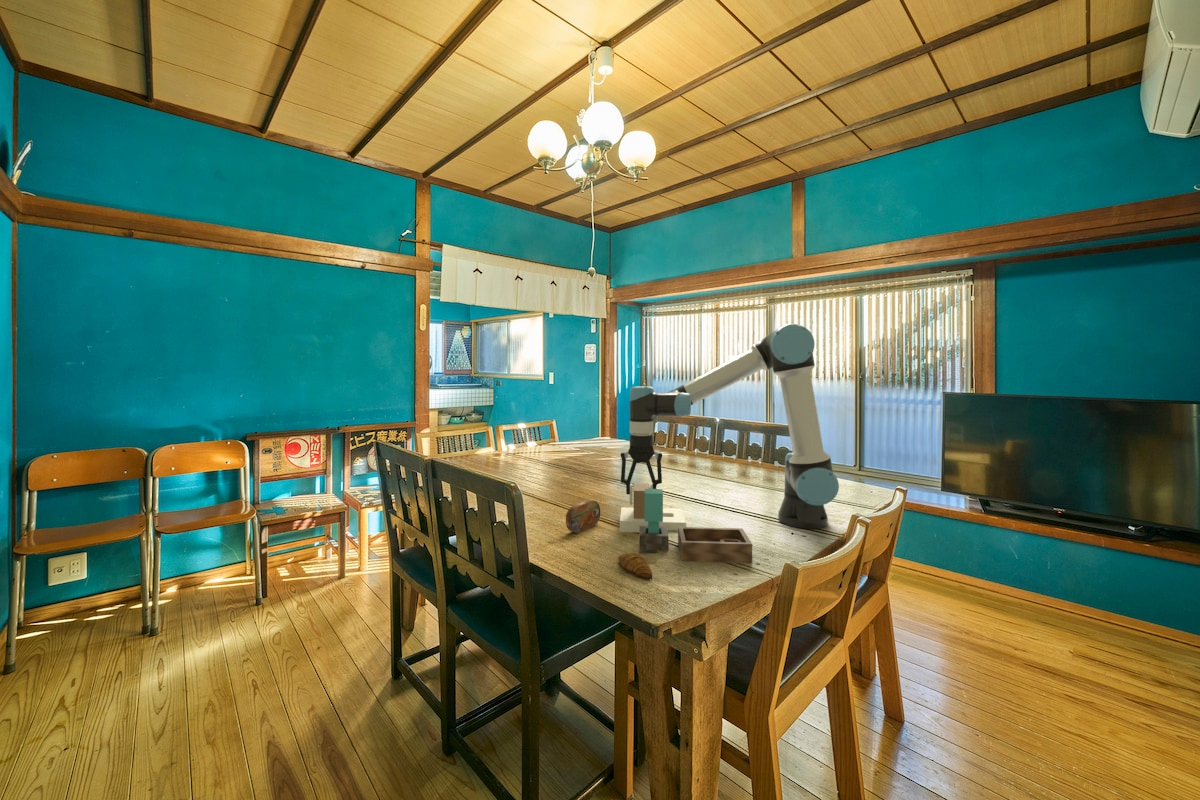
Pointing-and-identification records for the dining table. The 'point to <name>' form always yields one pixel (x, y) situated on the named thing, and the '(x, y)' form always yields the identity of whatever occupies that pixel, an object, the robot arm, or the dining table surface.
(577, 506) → the tin
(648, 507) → the teal block
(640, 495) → the lid
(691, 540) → the brown wooden open box
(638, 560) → the croissant
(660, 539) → the holder
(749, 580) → the dining table surface
